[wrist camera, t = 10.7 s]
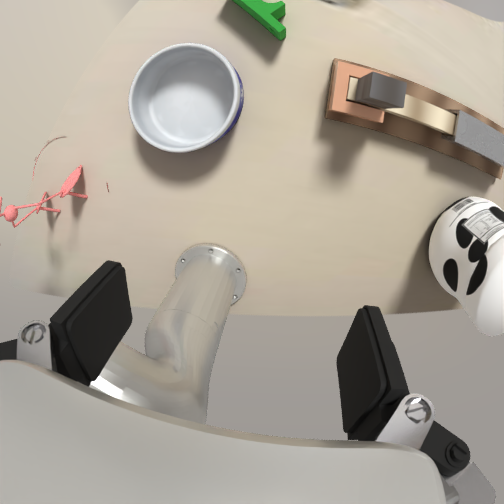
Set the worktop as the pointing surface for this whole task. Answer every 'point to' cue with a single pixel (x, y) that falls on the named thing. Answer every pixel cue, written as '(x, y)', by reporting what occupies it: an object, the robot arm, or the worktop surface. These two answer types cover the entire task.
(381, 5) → the worktop surface
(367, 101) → the bar
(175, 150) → the dog bowl
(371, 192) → the worktop surface
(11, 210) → the figurine
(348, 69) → the socket
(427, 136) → the board
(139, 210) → the worktop surface
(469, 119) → the grey concrete brick
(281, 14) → the pipe clamp
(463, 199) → the milk container
